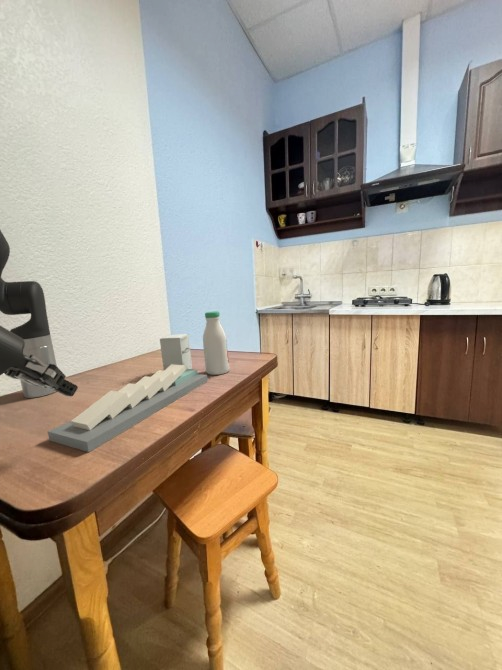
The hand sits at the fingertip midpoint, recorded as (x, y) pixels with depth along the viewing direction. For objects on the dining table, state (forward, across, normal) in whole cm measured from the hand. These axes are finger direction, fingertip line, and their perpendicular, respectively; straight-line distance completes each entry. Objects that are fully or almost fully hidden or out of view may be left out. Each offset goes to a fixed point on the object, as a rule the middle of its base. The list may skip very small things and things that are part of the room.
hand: (72, 391), depth 53 cm
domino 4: (+16, 0, -6) cm, 17 cm away
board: (+18, 0, -4) cm, 19 cm away
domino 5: (+20, 0, -10) cm, 22 cm away
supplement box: (+36, +10, -22) cm, 44 cm away
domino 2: (+9, 0, +2) cm, 9 cm away
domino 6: (+23, 0, -13) cm, 26 cm away
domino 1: (+5, 0, +5) cm, 7 cm away
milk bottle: (+38, -4, -24) cm, 46 cm away
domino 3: (+12, 0, -2) cm, 13 cm away
